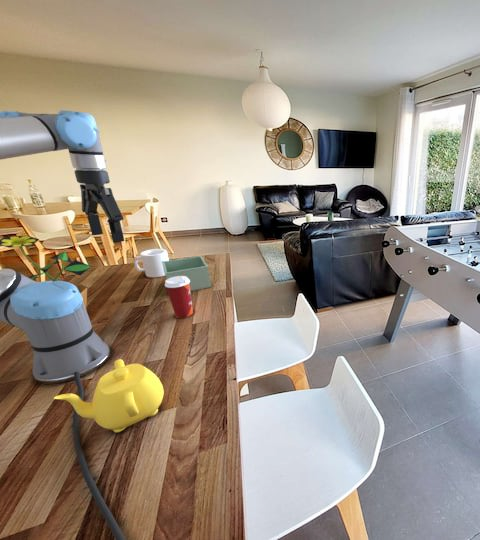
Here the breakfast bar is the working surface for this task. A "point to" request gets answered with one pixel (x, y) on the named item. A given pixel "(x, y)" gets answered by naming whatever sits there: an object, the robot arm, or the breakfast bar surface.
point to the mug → (152, 262)
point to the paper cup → (180, 295)
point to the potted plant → (73, 267)
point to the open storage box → (189, 271)
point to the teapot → (121, 397)
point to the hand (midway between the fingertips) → (108, 238)
